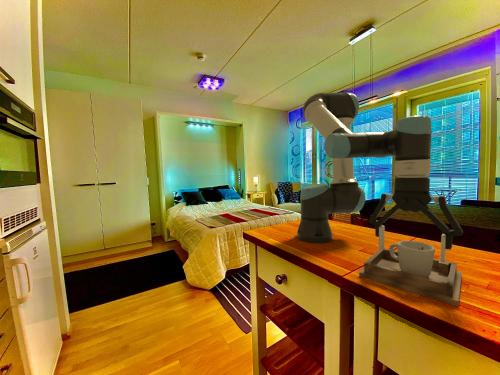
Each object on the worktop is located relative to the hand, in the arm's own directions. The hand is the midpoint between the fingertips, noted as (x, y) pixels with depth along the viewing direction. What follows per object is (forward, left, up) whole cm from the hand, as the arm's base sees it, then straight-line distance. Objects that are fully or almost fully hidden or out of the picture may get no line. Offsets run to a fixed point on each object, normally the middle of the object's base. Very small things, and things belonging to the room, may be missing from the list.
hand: (409, 254), depth 59 cm
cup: (0, 0, -5) cm, 5 cm away
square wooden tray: (0, 0, -6) cm, 6 cm away
